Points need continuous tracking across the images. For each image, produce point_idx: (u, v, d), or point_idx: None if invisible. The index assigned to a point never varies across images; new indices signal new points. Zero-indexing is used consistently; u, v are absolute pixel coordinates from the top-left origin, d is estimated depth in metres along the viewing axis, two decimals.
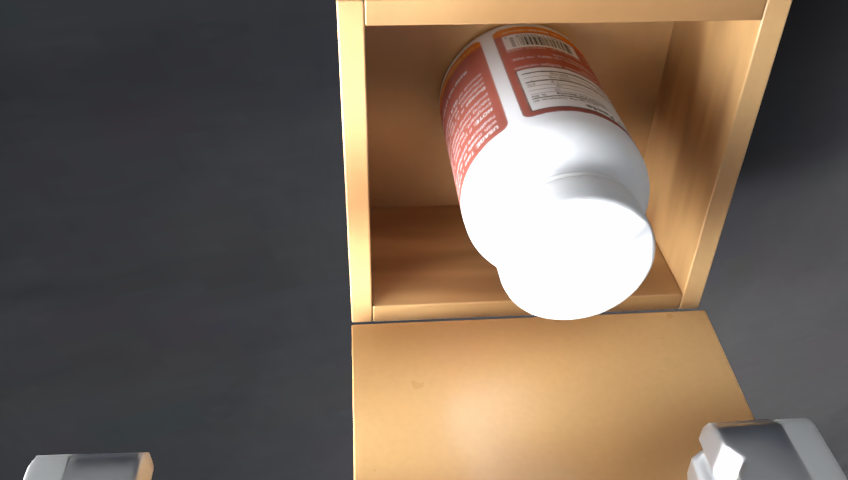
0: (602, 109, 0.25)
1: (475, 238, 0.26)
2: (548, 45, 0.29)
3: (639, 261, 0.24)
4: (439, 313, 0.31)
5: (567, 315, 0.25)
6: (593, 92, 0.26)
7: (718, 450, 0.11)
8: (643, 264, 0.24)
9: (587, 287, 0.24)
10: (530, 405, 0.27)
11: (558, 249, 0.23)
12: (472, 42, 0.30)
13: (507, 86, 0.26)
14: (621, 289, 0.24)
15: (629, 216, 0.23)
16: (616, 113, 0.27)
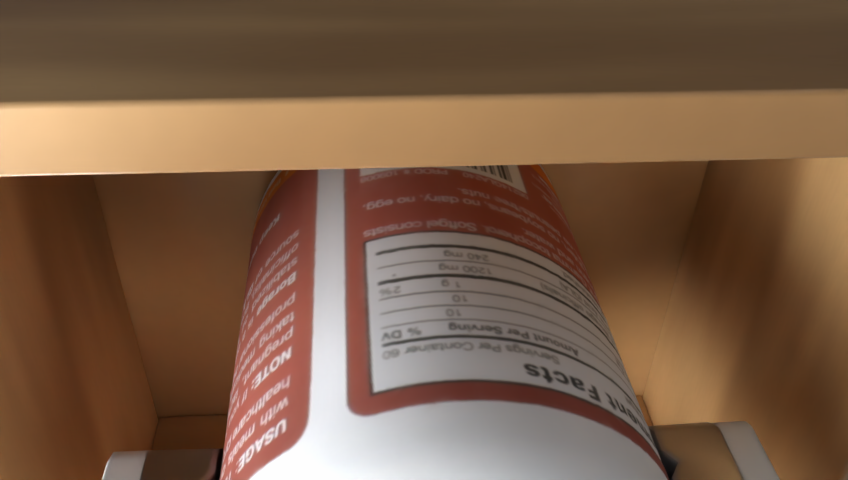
0: (568, 370, 0.10)
1: None
2: None
3: None
4: None
5: None
6: (549, 303, 0.11)
7: None
8: None
9: None
10: None
11: None
12: None
13: (338, 287, 0.11)
14: None
15: None
16: (606, 348, 0.11)
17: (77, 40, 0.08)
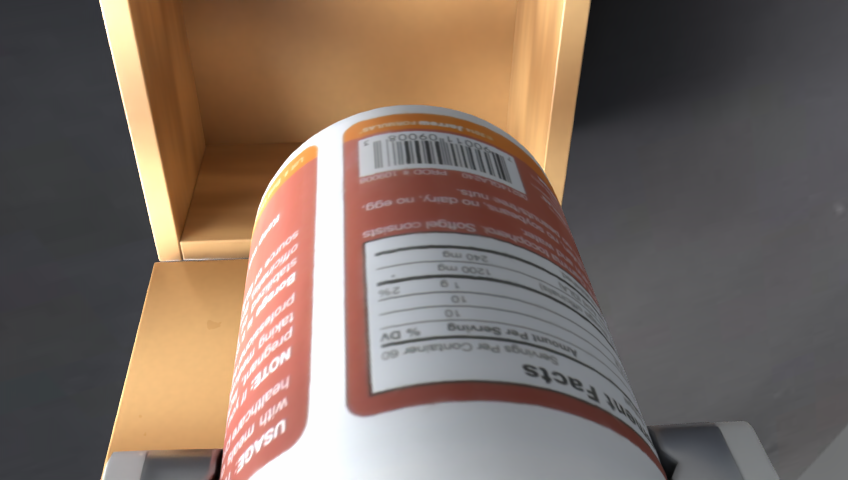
0: (567, 370, 0.10)
1: None
2: (454, 163, 0.13)
3: None
4: None
5: None
6: (548, 304, 0.11)
7: None
8: None
9: None
10: None
11: None
12: (306, 144, 0.14)
13: (336, 288, 0.11)
14: None
15: None
16: (605, 349, 0.11)
17: None
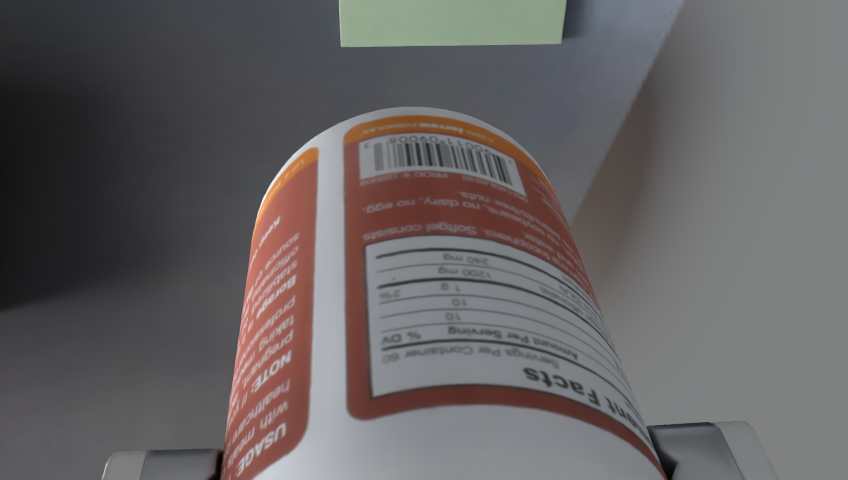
0: (567, 374, 0.10)
1: None
2: (455, 165, 0.13)
3: None
4: None
5: None
6: (548, 307, 0.11)
7: (656, 453, 0.11)
8: None
9: None
10: None
11: None
12: (307, 146, 0.14)
13: (337, 291, 0.11)
14: None
15: None
16: (605, 351, 0.11)
17: None
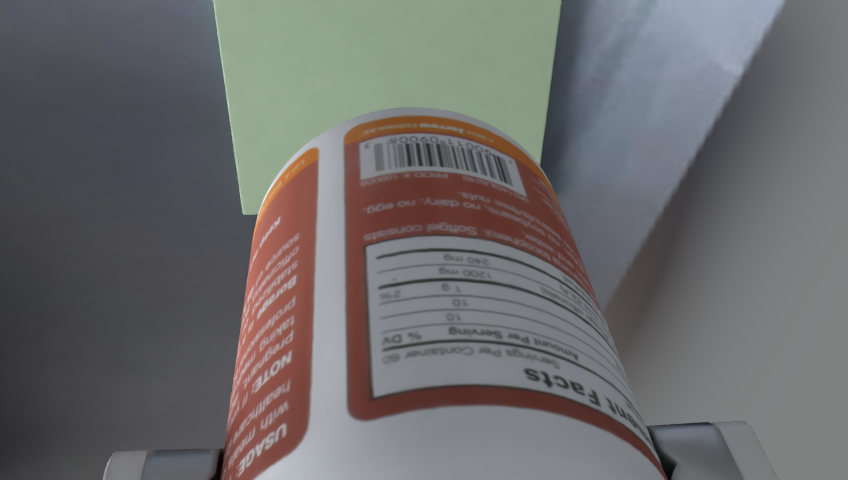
0: (568, 374, 0.10)
1: None
2: (455, 166, 0.13)
3: None
4: None
5: None
6: (549, 307, 0.11)
7: None
8: None
9: None
10: None
11: None
12: (307, 146, 0.14)
13: (338, 292, 0.11)
14: None
15: None
16: (606, 352, 0.11)
17: None
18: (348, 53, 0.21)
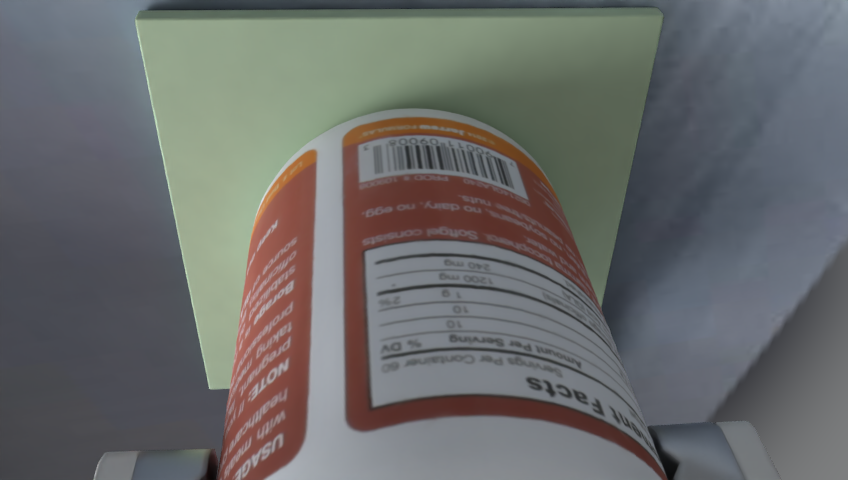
0: (571, 383, 0.09)
1: None
2: (456, 168, 0.13)
3: None
4: None
5: None
6: (551, 314, 0.10)
7: (657, 453, 0.11)
8: None
9: None
10: None
11: None
12: (305, 148, 0.14)
13: (336, 297, 0.10)
14: None
15: None
16: (609, 359, 0.11)
17: None
18: None
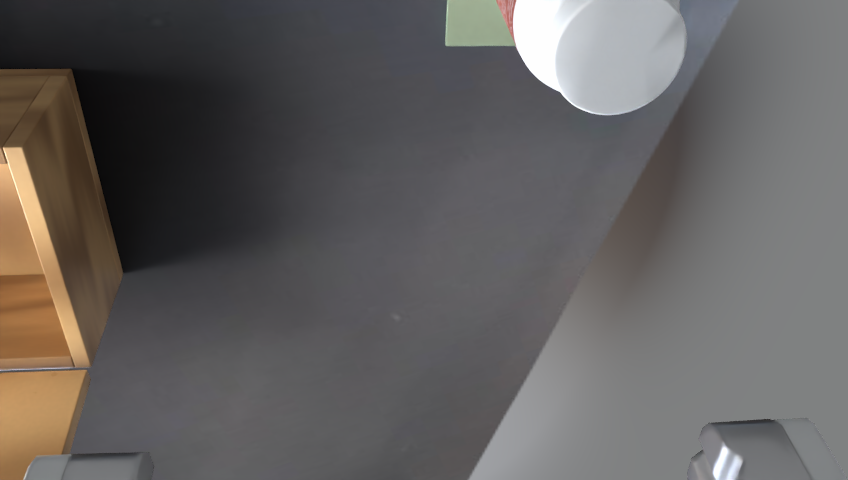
0: None
1: (526, 49, 0.30)
2: None
3: (672, 55, 0.27)
4: None
5: (608, 109, 0.28)
6: None
7: (718, 450, 0.11)
8: (676, 58, 0.27)
9: (626, 80, 0.28)
10: None
11: (603, 39, 0.27)
12: None
13: None
14: (656, 84, 0.28)
15: (665, 7, 0.26)
16: None
17: None
18: None
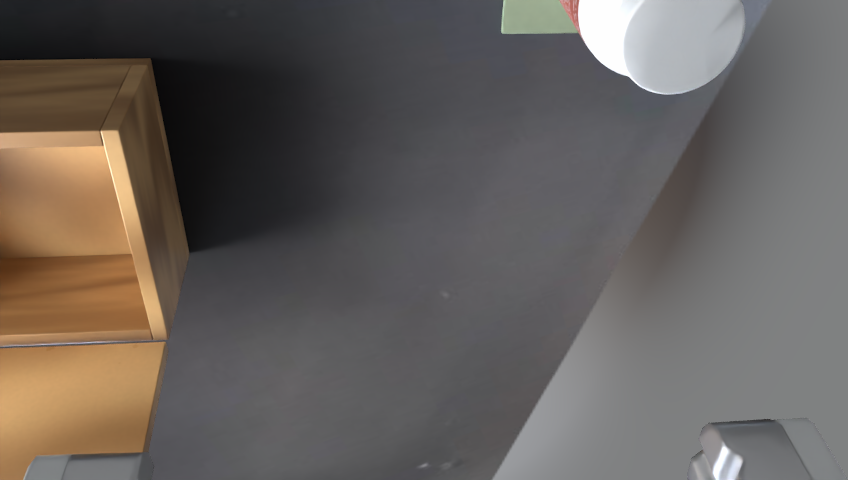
0: None
1: (591, 34, 0.32)
2: None
3: (731, 37, 0.30)
4: None
5: (670, 89, 0.31)
6: None
7: (718, 450, 0.11)
8: (734, 41, 0.30)
9: (688, 62, 0.30)
10: None
11: (669, 24, 0.29)
12: None
13: None
14: (715, 65, 0.30)
15: None
16: None
17: None
18: None
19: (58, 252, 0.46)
